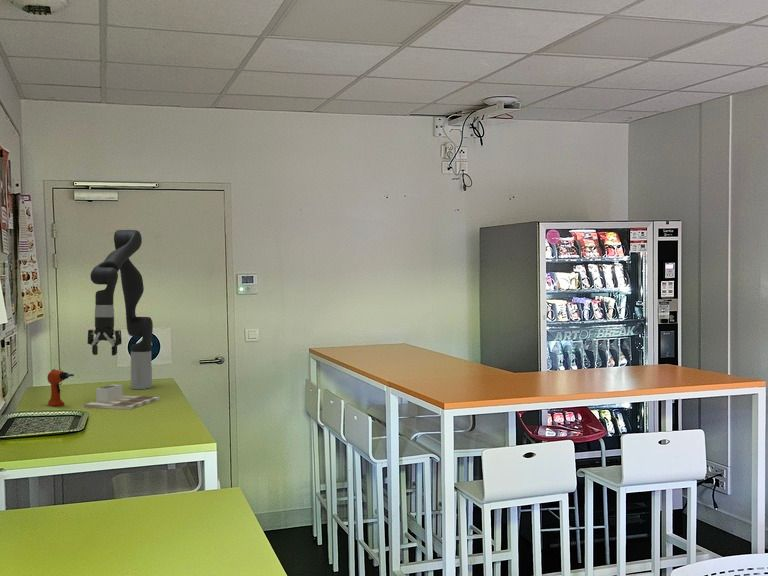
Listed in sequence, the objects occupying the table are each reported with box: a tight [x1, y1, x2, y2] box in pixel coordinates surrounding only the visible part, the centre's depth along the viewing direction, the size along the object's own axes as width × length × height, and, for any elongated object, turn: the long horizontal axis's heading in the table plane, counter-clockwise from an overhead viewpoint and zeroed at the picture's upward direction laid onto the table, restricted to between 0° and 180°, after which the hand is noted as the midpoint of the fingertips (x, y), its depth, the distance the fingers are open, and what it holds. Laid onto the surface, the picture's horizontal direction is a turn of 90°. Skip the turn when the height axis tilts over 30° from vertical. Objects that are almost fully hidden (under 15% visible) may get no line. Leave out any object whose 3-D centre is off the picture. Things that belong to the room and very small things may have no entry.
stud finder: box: [95, 384, 124, 403], centre depth 320 cm, size 12×5×6 cm, turn 168°
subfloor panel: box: [83, 394, 160, 411], centre depth 319 cm, size 24×20×1 cm
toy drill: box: [47, 368, 75, 408], centre depth 311 cm, size 5×19×15 cm, turn 51°
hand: (104, 355), depth 319 cm, fingers open, 8 cm apart
